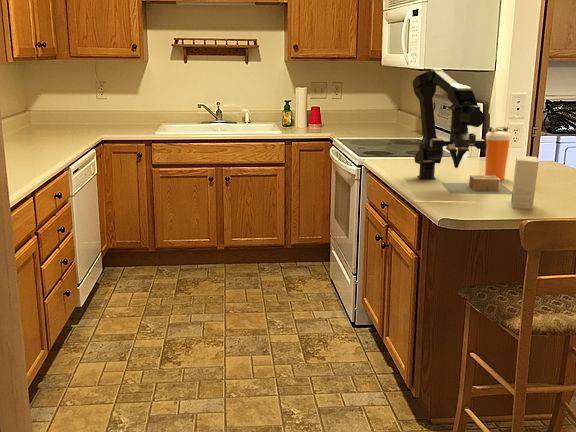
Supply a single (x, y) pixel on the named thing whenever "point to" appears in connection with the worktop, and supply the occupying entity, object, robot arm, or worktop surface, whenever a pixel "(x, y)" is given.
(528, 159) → the skincare box
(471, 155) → the worktop surface
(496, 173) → the shaker bottle
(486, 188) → the block
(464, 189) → the mat
